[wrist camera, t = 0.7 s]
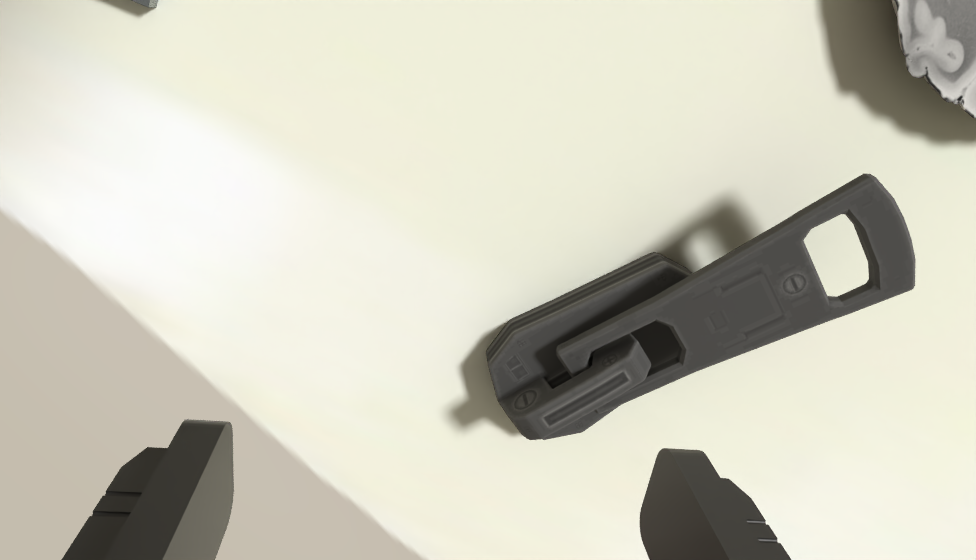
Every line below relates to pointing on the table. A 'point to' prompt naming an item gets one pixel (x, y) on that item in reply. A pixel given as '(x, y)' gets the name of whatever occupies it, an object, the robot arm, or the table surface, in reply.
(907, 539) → the table surface
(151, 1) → the well stand
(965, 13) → the brain slice
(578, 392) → the zipper pull
